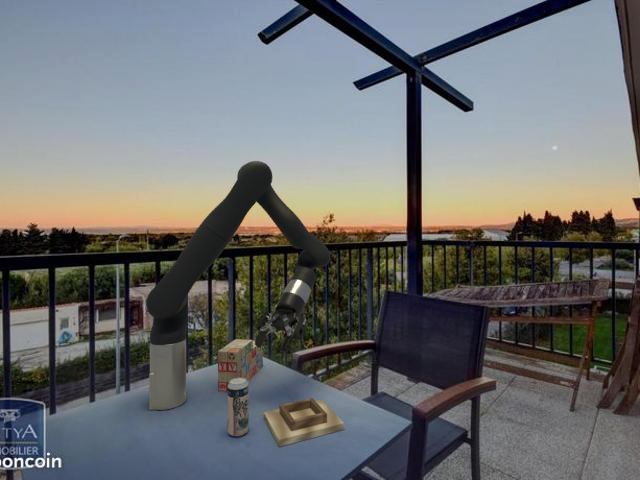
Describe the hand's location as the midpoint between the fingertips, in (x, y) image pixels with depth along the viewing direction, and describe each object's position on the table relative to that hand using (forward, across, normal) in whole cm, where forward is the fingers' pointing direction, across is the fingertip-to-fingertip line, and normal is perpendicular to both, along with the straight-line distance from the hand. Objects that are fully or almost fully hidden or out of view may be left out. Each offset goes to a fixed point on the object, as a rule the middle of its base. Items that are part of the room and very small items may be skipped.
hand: (269, 348), depth 88 cm
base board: (+12, +11, +11) cm, 20 cm away
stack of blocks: (+3, -22, +20) cm, 30 cm away
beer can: (+20, 0, +3) cm, 20 cm away
